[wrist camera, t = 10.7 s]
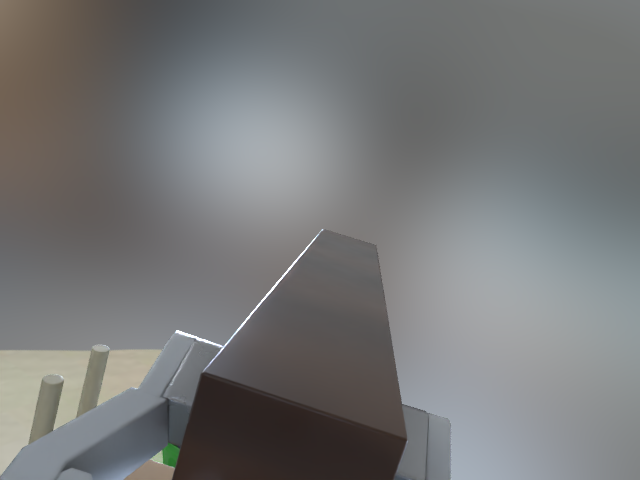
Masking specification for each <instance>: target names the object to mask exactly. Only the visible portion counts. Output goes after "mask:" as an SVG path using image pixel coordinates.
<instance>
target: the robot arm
mask: <svg viewBox="0 0 640 480" xmlns="http://www.w3.org/2000/svg"><path fill="white" fill-rule="evenodd" d="M222 347H223V346H221V345H218V344H215V343H212V342H209V341H206V340H203V339H200V338H198V337H195V336H192V335H189V334H185V333H182V332H179V331H176V332H175V333H174V334H173V335H172V336H171V337H170V339H169V341H168V342H167V344H166V345H165V347H164V348H163V350H162V352H161V353H160V355H159V356H158V358H157V359H156V361H155V363H154V364H153V366H152V367H151V369H150V370H149V372H148V374H147V375H146V377H145V378H144V380H143V381H142V383H141V385H140V386H139V388H138V389H136V388H132V387H131V388H129V389H127V390H126V391H124V392H122V393H120V394H118V395H117V396H115V397H113V398H111V399H109V400H108V401H106V402H104V403H102V404H100V405H99V406H97V407H95V408H93V409H91V410H90V411H88V412H86V413H84V414H82V415H81V416H79V417H77V418H75V419H73V420H72V421H70V422H68V423H66V424H65V425H63V426H61V427H59V428H57V429H56V430H54V431H52V432H50V433H48V434H47V435H45V436H43V437H41V438H39V439H38V440H36V441H34V442H32V443H30V444H29V445H27V446H25V447H23V448H22V449H21V451H20V452H19V453H18V454H17V456H16V457H15V458H14V460H13V461H12V462H11V463H10V465H9V466H8V467H7V469H6V470H5V471H4V472H3V474H2V475H1V476H0V480H123V479H125V478H126V477H127V476H128V475H130V474H131V473H132V472H134V471H135V470H136V469H138V468H139V467H140V466H142V465H143V464H144V463H145V462H147V461H148V460H149V459H151V458H152V457H153V456H155V455H156V454H157V453H158V452H160V451H161V450H162V449H164V448H165V447H166V446H168V443H170V444H174V445H177V446H180V447H181V444H182V440H183V436H184V433H185V429H186V425H187V422H188V418H189V414H190V411H191V407H192V403H193V399H194V396H195V392H196V388H197V385H198V381H199V377H200V374H201V372H202V371H203V370H204V369H205V367H206V366H207V365H208V364H209V363H210V362H211V360H212V359H213V358H214V357H215V356H216V355H217V353H218V352H219V351H220V350H221V349H222ZM402 408H403V414H404V420H405V426H406V432H407V439H408V443H407V445H406V448H405V451H404V454H403V457H402V460H401V462H400V465H399V468H398V471H397V474H396V476H395V479H394V480H451V424H450V421H449V420H448V419H447V418H444V417H440V416H437V415H434V414H430V413H427V412H426V411H423V410H420V409H417V408H414V407H410V406H407V405H404V404H402Z"/></svg>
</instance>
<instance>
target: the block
mask: <svg viewBox="0 0 640 480" xmlns="http://www.w3.org/2000/svg"><path fill="white" fill-rule="evenodd" d="M407 443H408V439H407V432H406V426H405V420H404V414H403V408H402V402H401V395H400V389H399V383H398V377H397V371H396V365H395V359H394V352H393V346H392V340H391V334H390V327H389V321H388V315H387V309H386V303H385V297H384V290H383V285H382V279H381V272H380V266H379V260H378V253H377V248H376V245H374V244H371V243H367V242H364V241H361V240H357V239H354V238H351V237H348V236H345V235H341V234H338V233H335V232H332V231H328V230H325V229H322V231H321V232H320V233H319V234H318V235H317V237H316V238H315V239H314V240H313V241H312V242H311V244H310V245H309V246H308V247H307V248H306V250H305V251H304V252H303V253H302V254H301V255H300V257H299V258H298V259H297V260H296V261H295V262H294V264H293V265H292V266H291V267H290V269H289V270H288V271H287V272H286V273H285V274H284V275H283V277H282V278H281V279H280V280H279V281H278V283H277V284H276V285H275V286H274V287H273V289H272V290H271V291H270V292H269V293H268V294H267V296H266V297H265V298H264V299H263V300H262V302H261V303H260V304H259V305H258V306H257V307H256V308H255V310H254V311H253V312H252V313H251V314H250V316H249V317H248V318H247V319H246V320H245V321H244V323H243V324H242V325H241V326H240V327H239V329H238V330H237V331H236V332H235V333H234V334H233V336H232V337H231V338H230V339H229V341H228V342H227V343H226V344H225V345H224V346H223V347H222V349H221V350H220V351H219V352H218V353H217V355H216V356H215V357H214V358H213V359H212V360H211V362H210V363H209V364H208V365H207V366H206V367H205V369H204V370H203V371H202V372H201V374H200V377H199V381H198V385H197V388H196V392H195V396H194V399H193V403H192V407H191V411H190V414H189V418H188V422H187V425H186V429H185V433H184V436H183V440H182V444H181V447H180V451H179V455H178V458H177V462H176V466H175V469H174V473H173V477H172V480H394V479H395V476H396V474H397V471H398V468H399V465H400V462H401V460H402V457H403V454H404V451H405V448H406V445H407Z"/></svg>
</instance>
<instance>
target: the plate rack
mask: <svg viewBox="0 0 640 480" xmlns="http://www.w3.org/2000/svg"><path fill="white" fill-rule="evenodd" d="M109 351H110V349H109V348H108V347H107V346H104V345H95V346H93V347H92V350H91V355H90V359H89V363H88V368H87V372H86V377H85V381H84V385H83V390H82V394H81V399H80V403H79V407H78V412H77V416H76V418H77V417H79V416H81V415H82V414H84V413H86V412H88V411H90V410H91V409H93V408H95V407H96V406H97V402H98V397H99V393H100V389H101V385H102V380H103V376H104V372H105V368H106V363H107V359H108V355H109ZM63 382H64V379H63V377H62V376H60V375H54V374H52V375H47V376H45V377H43V379H42V383H41V387H40V392H39V397H38V401H37V406H36V411H35V415H34V420H33V425H32V429H31V434H30V439H29V443H28V445H29V444H30V443H32V442H34V441H36V440H38V439H39V438H41V437H43V436H45V435H47V434H48V433H50V432H52V431H53V428H54V423H55V419H56V414H57V410H58V405H59V400H60V396H61V391H62V387H63ZM174 469H175V468H173V467H170V466H167V465H164V464H161V463H158V462H155V461H153V460H150V459H149V460H148V461H147V462H145V463H144V464H143V465H142V466H140V467H139V468H138V469H136V470H135V471H134V472H132V473H131V474H130V475H128V476H127V477H126V478H125V479H123V480H172V477H173V473H174Z"/></svg>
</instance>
